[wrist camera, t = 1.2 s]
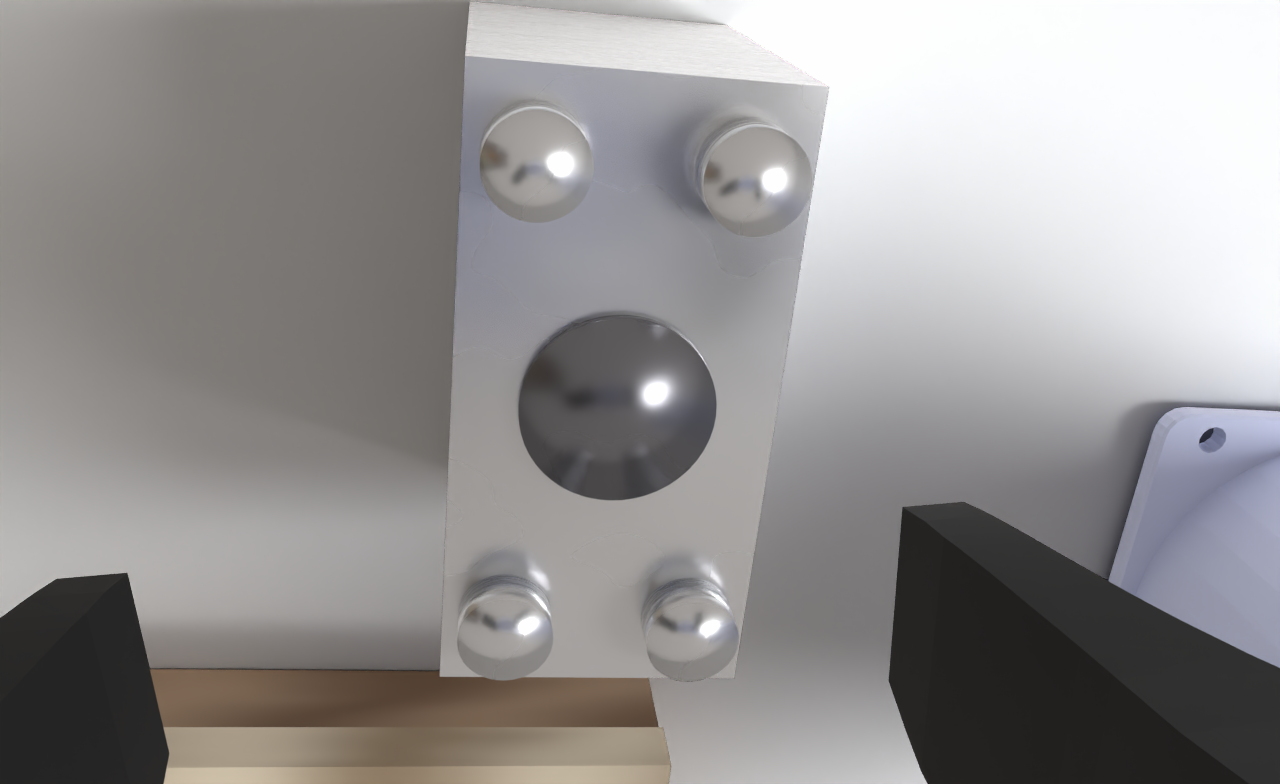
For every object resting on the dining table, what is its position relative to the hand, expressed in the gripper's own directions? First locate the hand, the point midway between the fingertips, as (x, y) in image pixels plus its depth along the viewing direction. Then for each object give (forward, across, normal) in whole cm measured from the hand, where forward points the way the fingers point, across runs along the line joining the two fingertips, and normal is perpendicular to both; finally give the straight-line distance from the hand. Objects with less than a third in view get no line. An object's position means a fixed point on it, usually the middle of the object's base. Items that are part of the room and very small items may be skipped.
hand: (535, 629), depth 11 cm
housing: (+10, -1, 0) cm, 10 cm away
